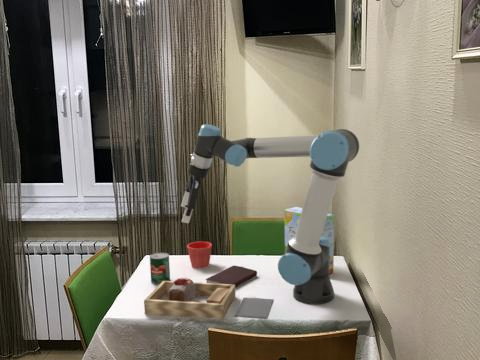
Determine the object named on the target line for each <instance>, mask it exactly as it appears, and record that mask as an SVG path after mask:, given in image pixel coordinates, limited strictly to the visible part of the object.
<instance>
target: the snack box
mask: <svg viewBox="0 0 480 360" xmlns="http://www.w3.org/2000/svg"><path fill="white" fill-rule="evenodd" d="M302 208H303V207H300V206H299V207H298V206H293V207H291V208H289V207H288V208H286V209H284V210H283V212H284V213H283V214H284V253H285V252H286V248H287V245H288V241H289V240H290V239H291V238H293V237H294V236H295V233H296V229H297V226H298V222H299V219H300V215H301V212H302ZM334 232H335V214H332V213H328V215H327V218H326V221H325V225H324V228H323V231H322V235H321V236H322V237H326V238H327V239H329V244H330V262H329V275H331V274H333V273H334V266H335V265H334V255H335V254H334V252H335V250H334V245H335V242H334V241H335V240H334V239H335V233H334Z"/></svg>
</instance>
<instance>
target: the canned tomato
mask: <svg viewBox="0 0 480 360" xmlns="http://www.w3.org/2000/svg"><path fill="white" fill-rule="evenodd" d="M149 266H150V267H149V268H150V269H149V270H150V283H151V284H152V285H159V284H160V283H161V282H162V281H171V270H170V269H171V268H170V267H171V266H170V254H169V253H167V252H155V253H151V254H150V255H149Z"/></svg>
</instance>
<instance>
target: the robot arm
mask: <svg viewBox="0 0 480 360" xmlns="http://www.w3.org/2000/svg"><path fill="white" fill-rule="evenodd" d="M221 132H222V130H221V128H219V127H217V126H215V125H213V124H208V123H207V124H206V123H205V124H202V125H201V126H200V129H199V132H198V134H197V138H196V142H195V145H194V149H193V153H191V154H190V157H191V159H190V163H189V166H188V168H187V173H188V174H189V178H188V180H187V183H186V185H185V191H184V194H183V197H182V201H181V204H180V207H182V208H185V209H184V212H183V215H182V219H181V223H184V224H190V221H191V217H192V215H193V211H194V210H195V209H196V205H197V201H198V200H197V199H198V196H199V190H200V187H201V179H205V178H207V177H208V173H209V171H210V168H211V165H212V162H213V158H214V157H216V158H218V159H219V160H222V161H223V162H226V164H229V165H231V166H234V167H241V166H242V165H243V164H244V162H245V161H246V159H261V158H263V159H264V158H268V159H269V158H310V159H311V161H310V164H309V169H310V170H311V172H312V174H311V177H310V180H309V184H308V187H307V191H306V194H305V198H304V202H303V205H302V207H301V208H302V212H301V215H300V219H299V222H298V226H297V229H296V233H295V236H294V237H293V238H291V239H290V240H289V241H288V245H287V248H286V252H285V251H284V254H282V255H281V256H280V258H279V259H278V263H277V270H278V273H279V274H280V276H281V278H282V279H283V280H284V281H285V282H286V283H287V284H290V285H293V286H294V287H293V290H292V291H293V292H292V296H293V298H294V299H295V300H296V301H298V302H300V303H303V304H311V305H312V304H313V305H320V304H326V303H329V302H331V301H333V300H334V298H335V291H334V288H333V284H332V281H331V278H330V274H329V262H330V244H329V239H327V238H326V237H322V236H321V235H322V231H323V228H324V225H325V221H326V218H327V215H328V214H329V212H330V211H329V210H330V208H331V205H332V202H333V198H334V196H335V195H334V194H335V192H336V188H337V184H338V181H339V180H340V179H342V178H344V177H345V174H346V172H347V168H348V164H349V163H350V162H352V161H353V160H355V158H356V157H357V155H358V154H359V151H360V141H359V139H358V137H357V135H356V134H355V133H354V132H352V131H351V130H348V129H347V128H346V129H344V128H339V129H336V130H327V131H323V132H322V133H320V134H317V135H314V134H313V135H298V136H297V135H296V136H273V137H271V136H270V137H245V138H241V139H235V140H229V139H227V138H225V137H223V136H221V134H222V133H221Z"/></svg>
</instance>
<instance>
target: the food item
mask: <svg viewBox="0 0 480 360" xmlns="http://www.w3.org/2000/svg"><path fill="white" fill-rule="evenodd" d="M173 281H174V283H173V286H172V287H171V288H170V289H169V290H168V294H167V300H170V301H186V302H194V301H193V300H194V297H196V296H195V290H196V289H195V283H193V282H194V281H193V280H192V279H191V278H187V277H179V278H177V279H175V280H173Z"/></svg>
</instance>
